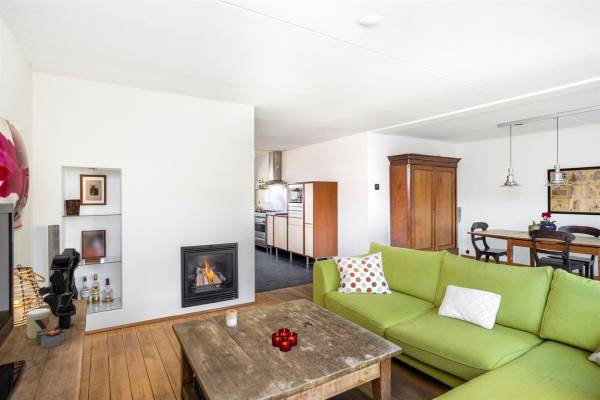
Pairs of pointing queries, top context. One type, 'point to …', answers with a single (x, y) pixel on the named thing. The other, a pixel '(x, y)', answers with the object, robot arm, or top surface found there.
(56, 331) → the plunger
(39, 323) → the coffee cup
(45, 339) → the grey open tray
